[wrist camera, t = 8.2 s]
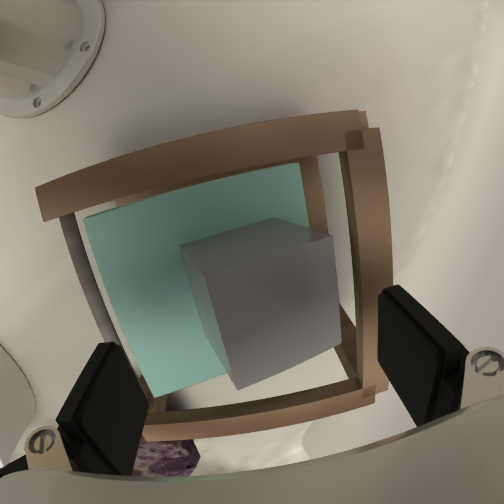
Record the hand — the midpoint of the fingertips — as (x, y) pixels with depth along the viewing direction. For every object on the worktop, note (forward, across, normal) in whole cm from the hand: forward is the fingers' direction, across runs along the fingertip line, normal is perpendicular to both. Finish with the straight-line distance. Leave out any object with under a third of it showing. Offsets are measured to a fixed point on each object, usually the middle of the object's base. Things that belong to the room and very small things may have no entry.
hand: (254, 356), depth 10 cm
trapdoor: (+7, +2, 0) cm, 7 cm away
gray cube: (+6, 0, 0) cm, 7 cm away
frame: (+14, +1, 0) cm, 14 cm away
